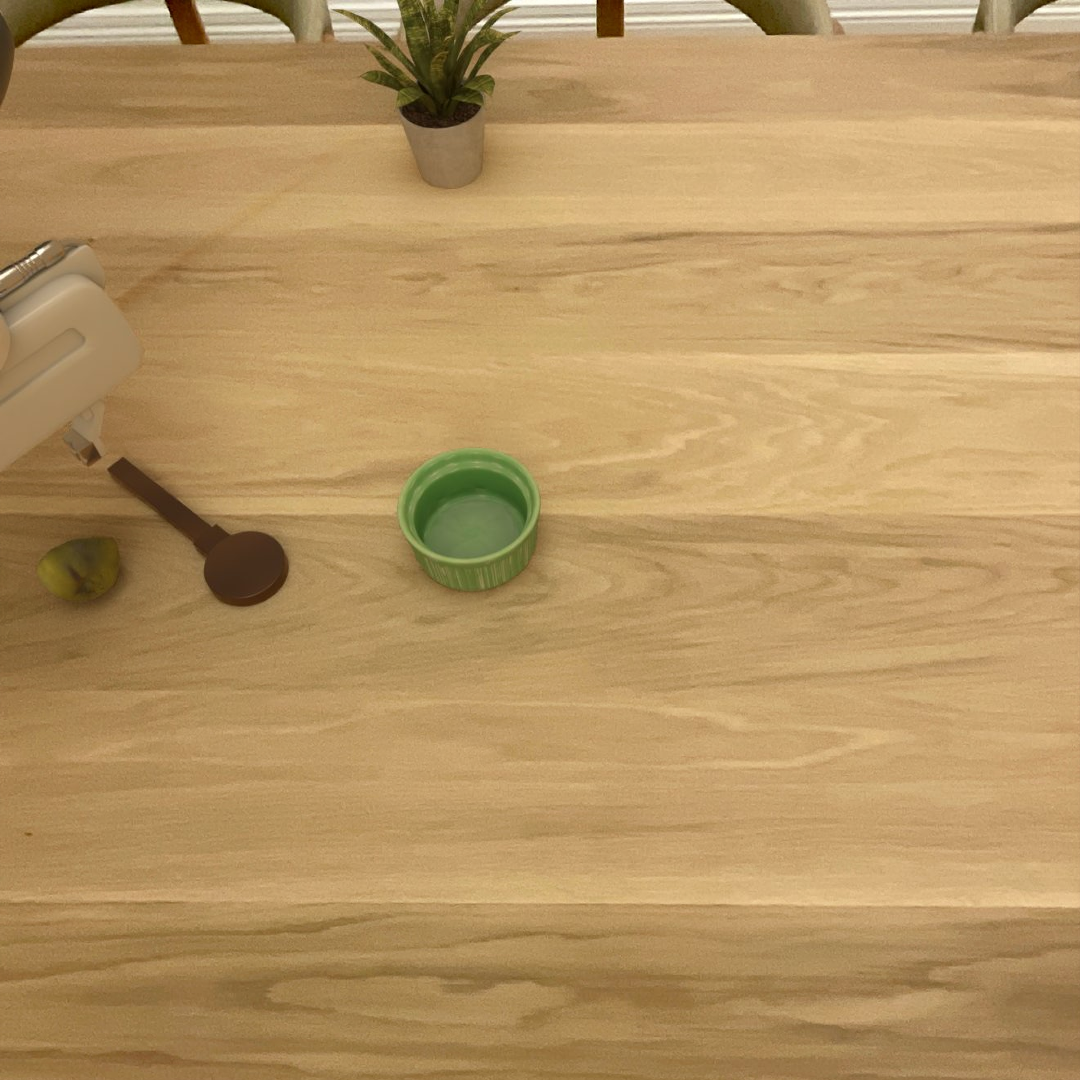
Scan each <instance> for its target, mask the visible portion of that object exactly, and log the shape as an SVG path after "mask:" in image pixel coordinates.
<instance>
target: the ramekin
mask: <svg viewBox="0 0 1080 1080" xmlns="http://www.w3.org/2000/svg"><path fill="white" fill-rule="evenodd" d="M541 500H542V499H541V492H540V489H539V485H538V483H537V480H536V479H535V477H534V475H533V473H531V471H530V470H529V469H528V467H527V466H526V465H524V464H523V463H522V462H521V461H520V460H519V459H517V458H515V457H513V456H512V455H510V454H508V453H506V452H503V451H500V450H496V449H493V448H486V447H481V446H480V447H479V446H478V447H477V446H476V447H473V446H472V447H462V448H460V447H459V448H454V449H451V450H447V451H445V452H441V453H439V454H437V455H434V456H433V457H431V458H429V459H428V460H426V461H424V462H423V463H422V464H421V465H419V466H418V468H416V469H415V470H414V471H413V472H412V473H411V475H409V477H408V478H407V480H406V481H405V483H404V484H403V486H402V488H401V491H400V493H399V496H398V499H397V506H396V514H397V515H396V516H397V523H398V525H399V528H400V531H401V533H402V535H403V536H404V538H405V540H406V541H407V542H408V544H409V545H410V547H411V549H412V551H413V554H414V556H415V559H416V561H417V563H418V564H419V565H420V567H421V569H422V570H423V571H424V572H425V574H426V575H427V576H429V577H430V578H431V579H432V580H433V581H435V582H436V583H438V584H440V585H442V586H445V587H447V588H449V589H453V590H455V591H464V592H480V591H486V590H490V589H493V588H497V587H499V586H501V585H504V584H505V583H507V582H509V581H510V580H512V579H514V578H515V577H516V576H518V575H519V574H520V573H521V572H523V570H524V569H525V568H526V567H527V566H528V564H529V563H530V561H531V559H532V557H533V556H534V553H535V549H536V546H537V541H538V522H539V518H540V514H541V505H542V504H541V503H542V501H541Z"/></svg>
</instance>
